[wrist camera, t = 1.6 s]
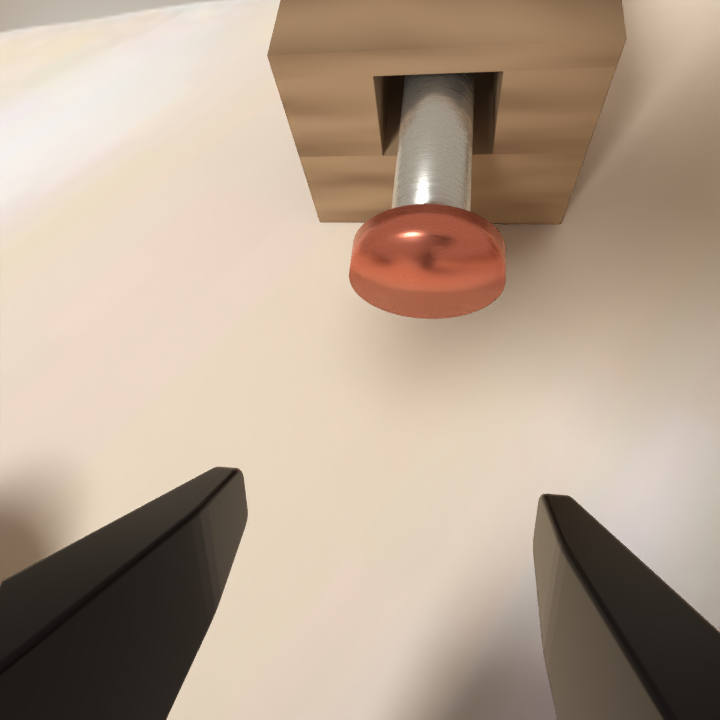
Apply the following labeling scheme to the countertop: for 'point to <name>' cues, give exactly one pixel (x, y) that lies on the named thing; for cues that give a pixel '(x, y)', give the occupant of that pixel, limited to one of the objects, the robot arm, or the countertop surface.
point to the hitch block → (438, 56)
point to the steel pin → (431, 213)
